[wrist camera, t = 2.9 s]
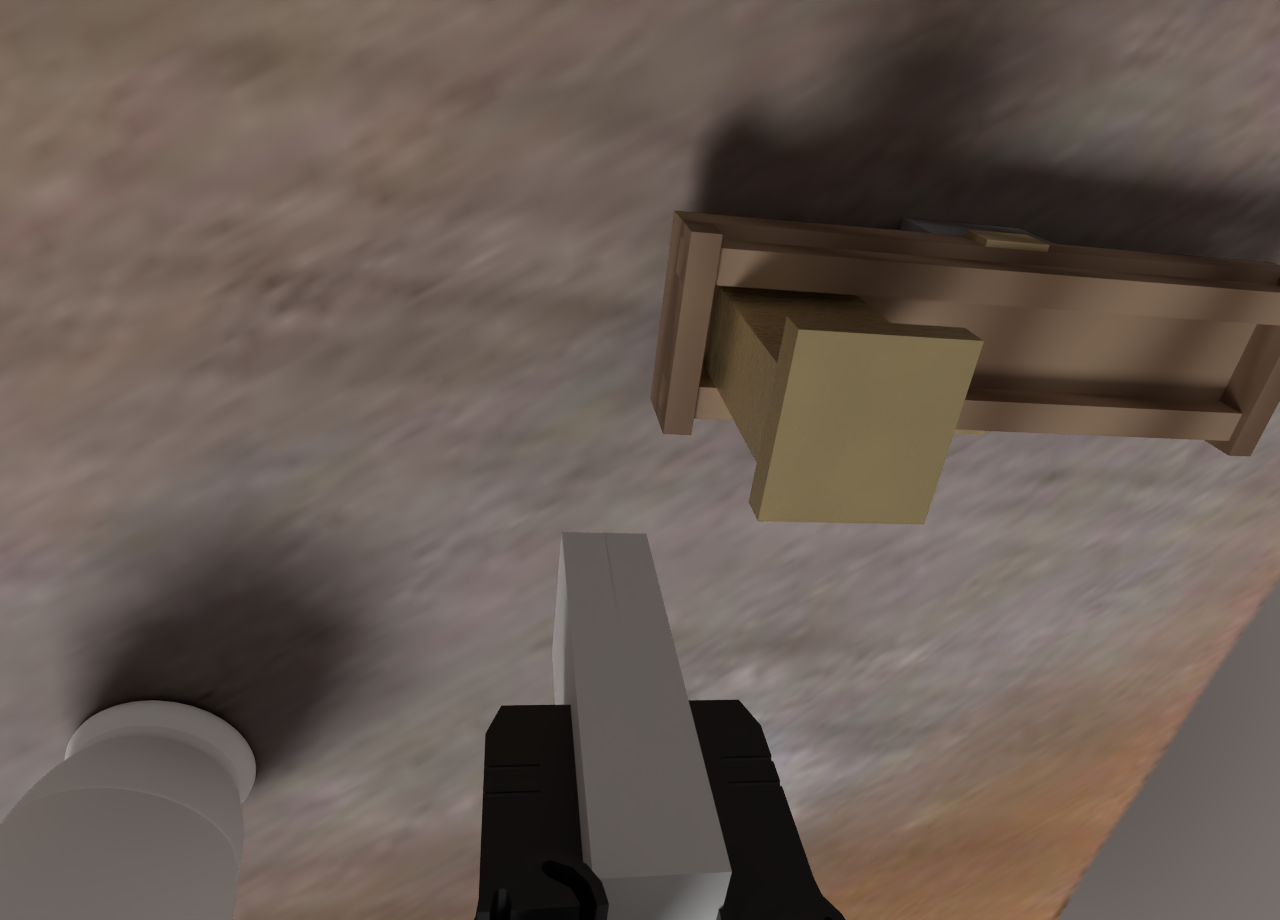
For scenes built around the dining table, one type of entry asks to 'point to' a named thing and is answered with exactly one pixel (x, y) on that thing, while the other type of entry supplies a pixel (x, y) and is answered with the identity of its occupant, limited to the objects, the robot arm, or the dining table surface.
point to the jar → (132, 821)
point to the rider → (838, 403)
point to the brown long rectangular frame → (1005, 322)
